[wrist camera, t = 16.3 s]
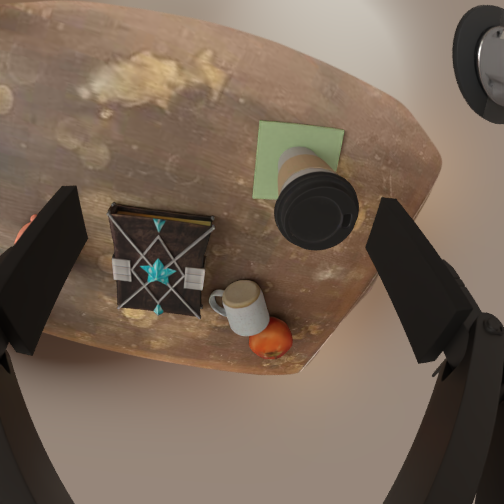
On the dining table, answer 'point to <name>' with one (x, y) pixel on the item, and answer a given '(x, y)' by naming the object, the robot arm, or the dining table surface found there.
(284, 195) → the coffee cup
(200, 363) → the dining table surface
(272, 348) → the tomato
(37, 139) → the dining table surface
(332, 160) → the sage mat
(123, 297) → the book
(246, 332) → the ceramic mug
